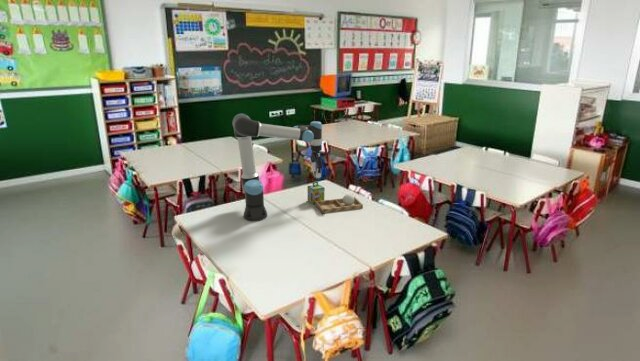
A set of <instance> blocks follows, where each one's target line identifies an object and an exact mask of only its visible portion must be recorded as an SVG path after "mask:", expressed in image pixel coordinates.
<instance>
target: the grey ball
mask: <svg viewBox="0 0 640 361" xmlns="http://www.w3.org/2000/svg"><path fill="white" fill-rule="evenodd" d="M354 197H355V196H354V195H352V193H351V194H350V193H347V194H344V196H343V197H342V198H343V203H344V204H345V205H347V206H350V205H352V204H353V203H354Z"/></svg>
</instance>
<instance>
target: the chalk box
mask: <svg viewBox="0 0 640 361" xmlns="http://www.w3.org/2000/svg"><path fill="white" fill-rule="evenodd" d="M323 200H325V187H324V186H322V185H321V184H319V181H317V180H316V181H313V182H312V184H310V185H307V202H308V203H310V204H312V205H314V206H316V201H323Z"/></svg>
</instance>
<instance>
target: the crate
mask: <svg viewBox="0 0 640 361" xmlns="http://www.w3.org/2000/svg"><path fill="white" fill-rule="evenodd" d="M353 197H354V203H353V204H352V205H350V206H347V205H345V204H344V203H343V197H342V198H334V199H333V198H332V199H324V200H323V201H316V204H315V207H316V209H317V210H318V211H319V212H320V214H321V215H326V213H333V212H342V211H351V210H358V209H359V210H360V209H363V208H364V204H363V203H362V202H361V201H360V200H359V199H357V198H356V197H355V196H353Z"/></svg>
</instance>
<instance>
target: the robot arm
mask: <svg viewBox="0 0 640 361" xmlns="http://www.w3.org/2000/svg"><path fill="white" fill-rule="evenodd" d="M231 122H232V127H233V131H234V137H235V138H236V139H237V144H238V151H239V156H240V162H241V163H240V164H241V170H242V174H241V175H240V179H241V188H242V190H243V193H244V197H245V198H244V199H245V207H244V211H243V219H244V220H246V221H250V222H259V221H263V220H265V219H267V217H268V212H267V208H266V207H265V201H264V200H265V199H264V198H265V197H264V184H263V182H262V181H260V176H259V173H258V172H257V171H256V170H257V169H256V163H255V156H254V149H253V142H252V141H253V140H252V137H253V138H258V137H259V136H260V137H268V138H275V139H285V140H295V141H302V142H305V143H307V144H308V143H310V150H311V154H310V162H311V168H310V169H311V172H316V178H321V177H322V169H323V164H322V162H323V161H322V154H321V153H320V151H322V146H323V145H322V143H323V142H322V141H323V139H322V138H323V135H322V133H323V131H322V130H323V126H322V125H323V124H322V122H321V121H316V120H315V121H314V120H313V121H311V122H310V124H308V125H295V126H293V127H291V126H283V125H277V124H275V125H274V124H268V123H261V122H260V121H259V120H253V119H252V118H251V117H250V116H249V115H247V114H246V113H238V114H236V115H235V116H234V117H233V119H232V120H231Z"/></svg>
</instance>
